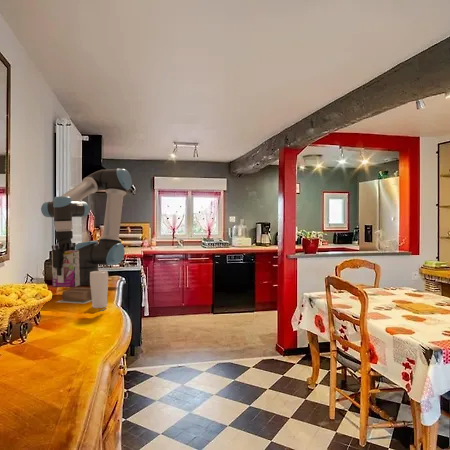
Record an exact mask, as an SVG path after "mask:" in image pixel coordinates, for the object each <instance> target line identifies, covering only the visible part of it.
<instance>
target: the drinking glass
mask: <svg viewBox="0 0 450 450" xmlns="http://www.w3.org/2000/svg"><path fill="white" fill-rule="evenodd" d="M89 288H91V297H92V301H91V305H92V306H91V307H92V309H93V308H94V309H101V310H99V312H104V311H107V309H108V307H107V306H108V293H109V292H108V291H109V272H108V270H99V271H93V272H90V285H89ZM102 308H103V309H102Z"/></svg>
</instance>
